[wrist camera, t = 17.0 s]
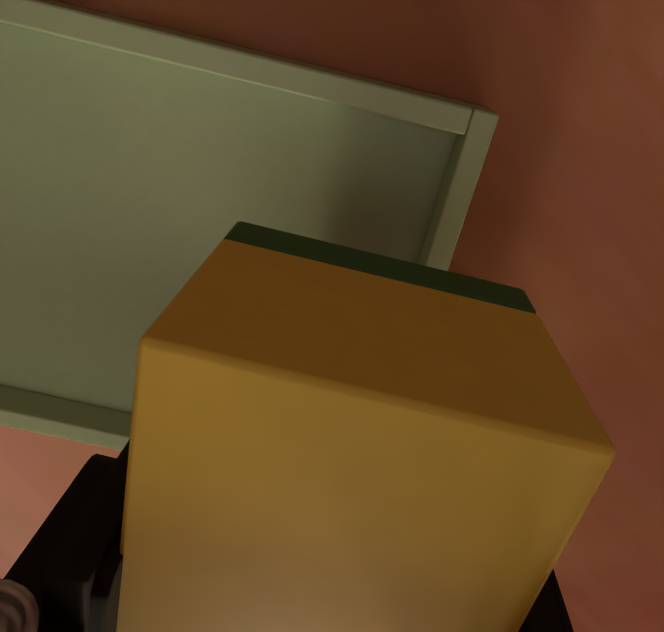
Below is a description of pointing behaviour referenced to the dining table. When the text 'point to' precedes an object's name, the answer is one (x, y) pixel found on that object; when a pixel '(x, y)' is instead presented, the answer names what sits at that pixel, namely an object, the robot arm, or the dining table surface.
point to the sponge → (348, 448)
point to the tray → (185, 188)
